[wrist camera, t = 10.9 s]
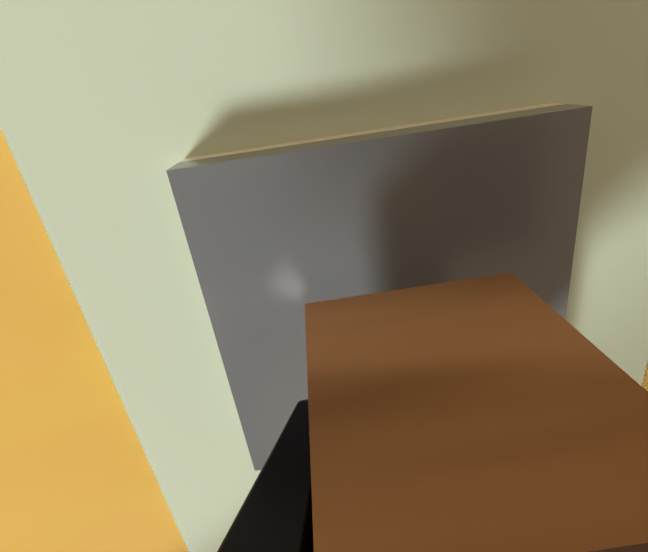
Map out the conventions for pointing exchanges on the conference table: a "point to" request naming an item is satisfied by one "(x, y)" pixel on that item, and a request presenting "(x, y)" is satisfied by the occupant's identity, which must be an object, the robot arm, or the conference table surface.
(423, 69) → the mat
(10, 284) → the conference table surface
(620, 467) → the block
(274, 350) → the tile
